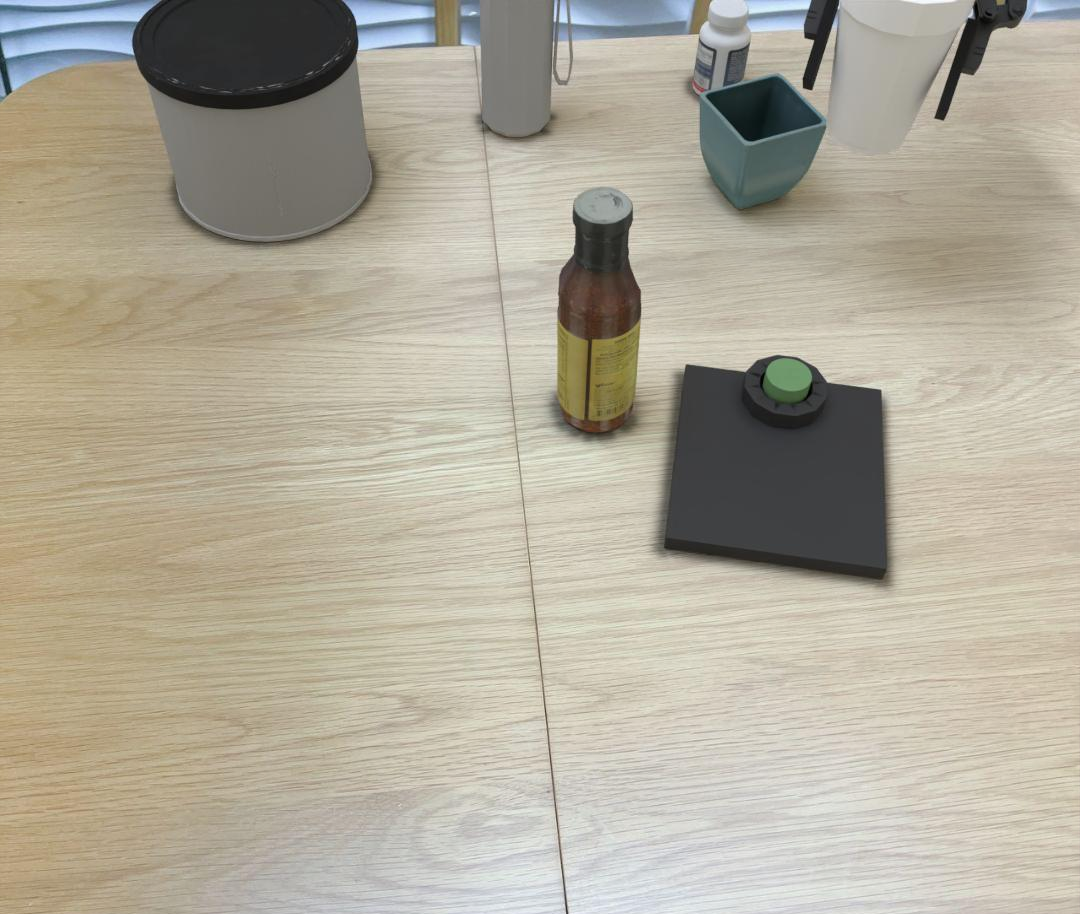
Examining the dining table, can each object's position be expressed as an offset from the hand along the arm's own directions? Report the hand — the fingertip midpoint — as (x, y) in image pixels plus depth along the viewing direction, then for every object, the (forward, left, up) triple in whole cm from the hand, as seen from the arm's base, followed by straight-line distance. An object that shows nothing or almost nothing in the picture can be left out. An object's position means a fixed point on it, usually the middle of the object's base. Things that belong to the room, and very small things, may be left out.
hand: (873, 99), depth 82 cm
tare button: (+3, +15, -16) cm, 22 cm away
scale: (+3, +22, -19) cm, 29 cm away
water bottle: (+30, -20, -19) cm, 41 cm away
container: (+52, -6, -19) cm, 56 cm away
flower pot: (+7, -13, -19) cm, 24 cm away
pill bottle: (+11, -30, -19) cm, 38 cm away
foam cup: (-1, -3, -5) cm, 6 cm away
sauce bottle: (+18, +18, -19) cm, 31 cm away
